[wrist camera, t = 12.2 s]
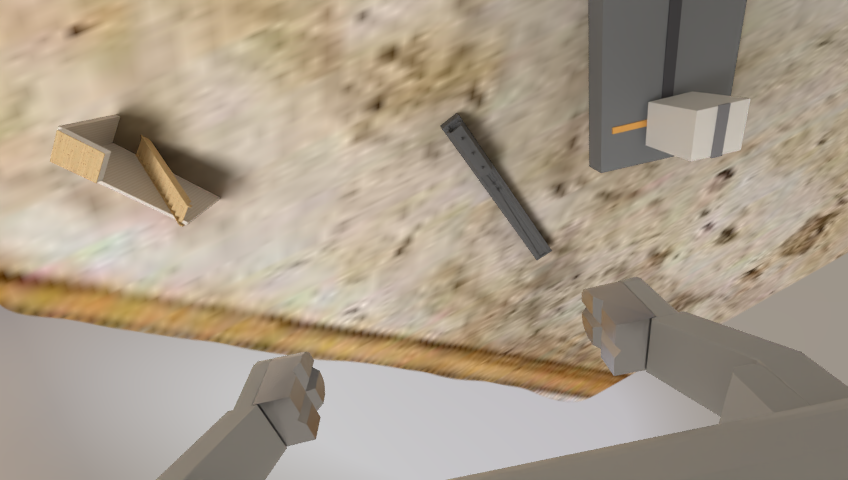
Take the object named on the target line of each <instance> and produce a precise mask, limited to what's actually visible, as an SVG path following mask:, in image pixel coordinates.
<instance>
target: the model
mask: <svg viewBox="0 0 848 480" xmlns="http://www.w3.org/2000/svg"><path fill="white" fill-rule="evenodd" d="M119 119H120V116H118V115H117V114H116V115H111V116H106V117H101V118H96V119H91V120H86V121H81V122H77V123H72V124H67V125H62V126H58V130H57V132H56V137H55V141H54V146H53V150H52V154H51V159H50V162H52V163H55V164H57V165H59V166H61V167H63V168H65V169H67V170H69V171H71V172H74V173H76V174H78V175H80V176H82V177H84V178H86V179H88V180H90V181H93V182H95V183H99V184H101V185H103V186H105V187H107V188H109V189H111V190H114V191H116V192H118V193H120V194H122V195H124V196H126V197H128V198H130V199H133V200H135V201H137V202H139V203H141V204H143V205H145V206H147V207H149V208H152V209H154V210H156V211H158V212H160V213H162V214H164V215H166V216H168V217H171V218H173V219H175V220H176V221H177V222H178V224H179V225H180V226H182V227H183V226H184V225H188V224H189V223H190V222H192V221H193V220H194V219H195V218H197V217H198V216H199V215H201V214H202V213H203V212H204V211H206V210H207V209H208V208H209V207H211V206H212V205H213V204H214V203H216V202H217V201H218V200H219V199H220V197H218V196H216V195H215V194H213V193H211V192H209V191H207V190H205V189H203V188H201V187H199V186H197V185H195V184H193V183H191V182H189V181H187V180H185V179H183V178H181V177H179V176H177V175H175V174H173V173H172V172H171V170H170V169H169V167H168V166H167V164H166V163H165V161H164V160H163V158H162V157H161V155H160V154H159V152H158V151H157V149H156V148H155V146H154V145H153V143H152V142H151V140H149V139H147V138H146V137H144V136H142V135H140V136H141V137H142V138H141V141H140V144H139V147H138V150H137V153H136V154H134V153H132V152H130V151H128V150H126V149H124V148H122V147H120V146H118V145H116V144H114V143H113V139H114V136H115V133H116V129H117V126H118V122H119Z"/></svg>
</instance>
